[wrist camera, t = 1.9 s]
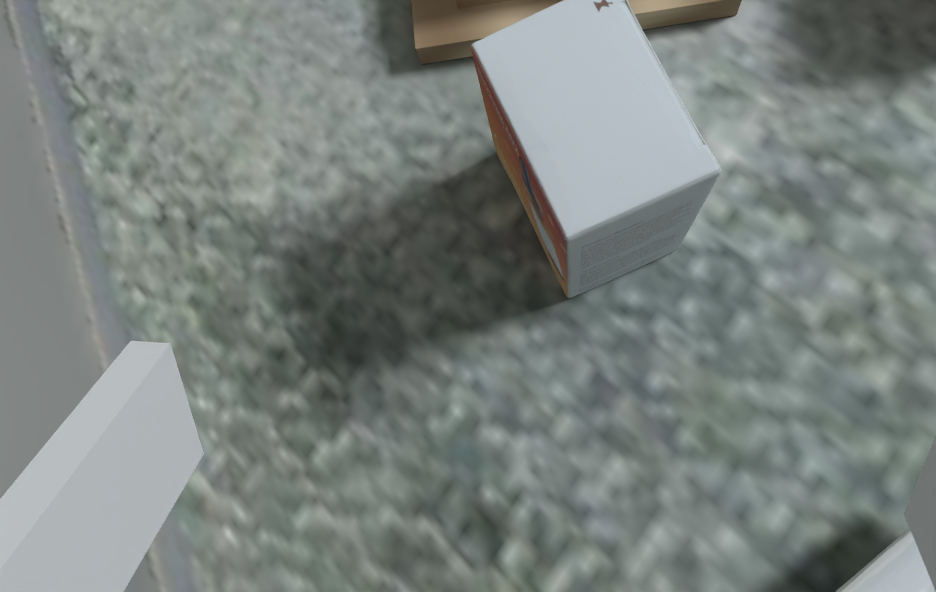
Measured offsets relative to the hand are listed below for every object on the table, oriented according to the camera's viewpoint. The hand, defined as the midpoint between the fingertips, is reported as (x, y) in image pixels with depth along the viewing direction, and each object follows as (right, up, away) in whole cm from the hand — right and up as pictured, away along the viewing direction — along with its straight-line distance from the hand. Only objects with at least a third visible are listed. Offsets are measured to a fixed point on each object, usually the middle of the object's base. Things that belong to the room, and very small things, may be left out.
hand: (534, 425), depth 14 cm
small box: (+4, +7, +22) cm, 24 cm away
